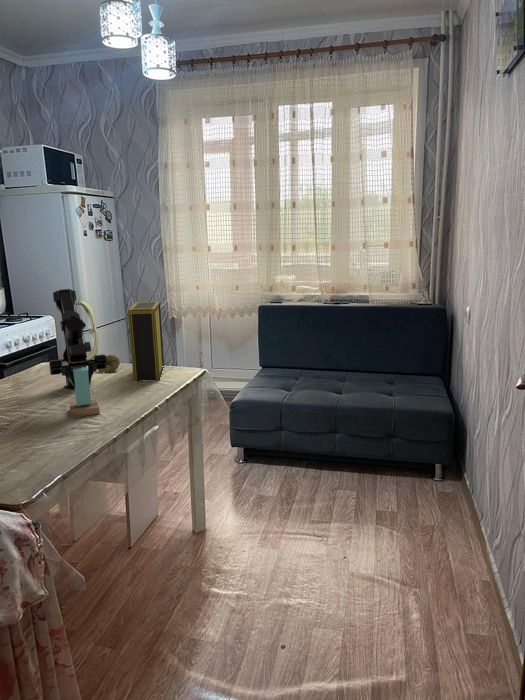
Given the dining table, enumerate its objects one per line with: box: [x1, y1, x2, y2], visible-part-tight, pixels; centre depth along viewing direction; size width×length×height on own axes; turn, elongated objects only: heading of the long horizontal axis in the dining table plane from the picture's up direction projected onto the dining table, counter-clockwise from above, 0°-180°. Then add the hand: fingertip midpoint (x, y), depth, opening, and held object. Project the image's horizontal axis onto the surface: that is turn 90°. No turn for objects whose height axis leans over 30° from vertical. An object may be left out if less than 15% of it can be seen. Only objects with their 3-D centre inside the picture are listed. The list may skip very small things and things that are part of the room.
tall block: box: [73, 366, 92, 406], centre depth 181 cm, size 4×4×12 cm
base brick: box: [68, 399, 101, 419], centre depth 183 cm, size 9×9×2 cm
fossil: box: [97, 354, 121, 373], centre depth 235 cm, size 9×4×10 cm
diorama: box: [127, 301, 165, 382], centre depth 224 cm, size 21×11×30 cm, turn 5°
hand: (82, 385), depth 180 cm, fingers closed on tall block, 4 cm apart
